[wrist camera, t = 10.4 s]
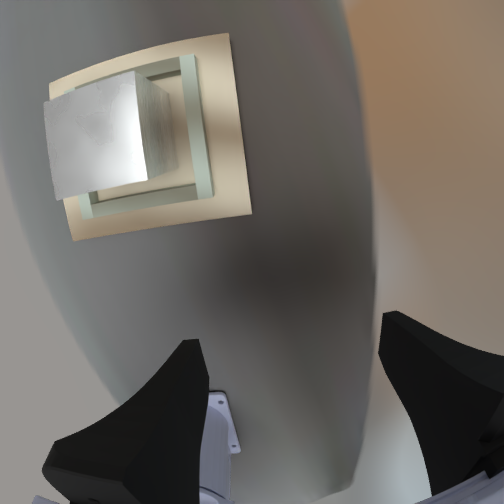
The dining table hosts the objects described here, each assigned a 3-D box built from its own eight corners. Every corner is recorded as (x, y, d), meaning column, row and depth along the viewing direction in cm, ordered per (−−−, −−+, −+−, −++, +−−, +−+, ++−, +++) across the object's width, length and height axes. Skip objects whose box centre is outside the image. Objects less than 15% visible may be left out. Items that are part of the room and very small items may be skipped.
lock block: (178, 168, 17) (147, 179, 11) (109, 182, 17) (56, 200, 11) (169, 93, 15) (134, 70, 10) (99, 111, 15) (43, 102, 10)
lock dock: (251, 209, 19) (252, 218, 17) (81, 236, 19) (64, 247, 17) (229, 39, 15) (227, 25, 13) (58, 85, 15) (39, 81, 13)
